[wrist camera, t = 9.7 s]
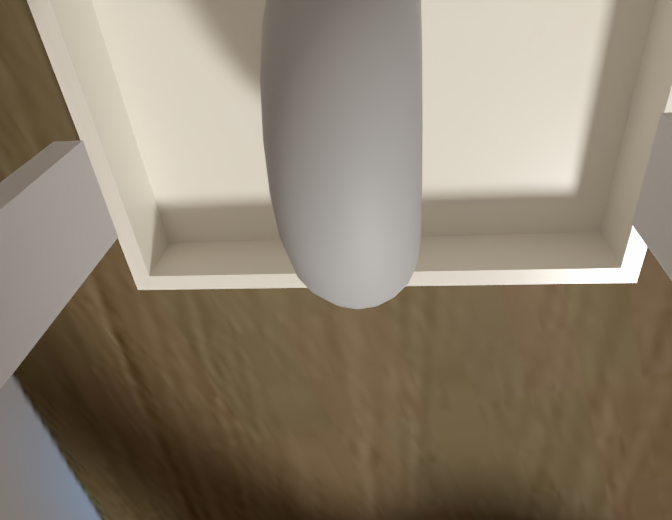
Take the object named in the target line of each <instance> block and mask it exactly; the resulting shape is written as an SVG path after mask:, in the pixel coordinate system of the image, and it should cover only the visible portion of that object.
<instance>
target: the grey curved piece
mask: <svg viewBox="0 0 672 520" xmlns="http://www.w3.org/2000/svg"><path fill="white" fill-rule="evenodd" d="M260 89H261V110H262V132H263V145H264V152H265V160H266V168H267V176H268V184H269V191H270V197H271V202H272V206H273V210H274V215H275V219H276V223H277V228H278V232H279V236H280V239H281V241H282V243H283V245H284V248H285V250H286V252H287V255H288V257H289V259H290V262H291V264H292V266H293V268H294V270H295V272H296V274H297V277H298V278H299V279H300V280H301V281H302V282H303V283H304V284H305V285H306V287H307V288H308V289H309V290H310V291H311V292H313V293H314V294H316V295H318V296H320V297H322V298H324V299H326V300H328V301H329V302H331V303H333V304H335V305H337V306H341V307H347V308H353V309H362V308H369V307H375V306H378V305H380V304H382V303H384V302H386V301H388V300H390V299H392V298H394V297H395V296H396V295H397V294H398V293H399V292H400V291H401V290H402V289H403V288H404V287H405V286H406V285H407V284H408V282H409V280H410V279H411V277H412V275H413V273H414V271H415V269H416V267H417V262H418V255H419V248H420V241H421V218H422V135H423V122H422V17H421V0H266V3H265V9H264V15H263V21H262V39H261V66H260Z"/></svg>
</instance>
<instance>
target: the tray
mask: <svg viewBox="0 0 672 520" xmlns="http://www.w3.org/2000/svg"><path fill="white" fill-rule="evenodd" d="M27 2H28V5H29V8H30V10H31V13H32V15H33V18H34V21H35V23H36V26H37V28H38V31H39V34H40V36H41V39H42V41H43V44H44V47H45V49H46V52H47V54H48V57H49V60H50V62H51V65H52V67H53V70H54V73H55V75H56V78H57V80H58V83H59V86H60V88H61V91H62V94H63V96H64V99H65V101H66V104H67V107H68V109H69V112H70V114H71V117H72V120H73V122H74V125H75V127H76V130H77V133H78V135H79V138H80V140H81V141H82V140H83V142H84V145H85V148H86V150H87V153H88V156H89V159H90V161H91V164H92V167H93V169H94V172H95V175H96V178H97V180H98V183H99V186H100V188H101V191H102V194H103V197H104V199H105V202H106V205H107V207H108V210H109V213H110V216H111V218H112V221H113V224H114V227H115V229H116V232H117V235H118V239H119V242H120V245H121V247H122V250H123V252H124V255H125V258H126V260H127V263H128V265H129V268H130V271H131V273H132V276H133V279H134V281H135V284H136V286H137V289H138V290H174V289H243V288H307V287H306V285H305V284H304V283H303V282H302V281H301V280H300V279H299V278H298V277H297V274H296V272H295V270H294V268H293V266H292V264H291V262H290V259H289V257H288V255H287V252H286V250H285V248H284V245H283V243H282V241H281V239H280V236H279V232H278V228H277V223H276V219H275V215H274V210H273V206H272V202H271V197H270V191H269V184H268V176H267V168H266V160H265V152H264V145H263V132H262V110H261V89H260V66H261V39H262V21H263V15H264V9H265V3H266V0H27ZM421 17H422V122H423V135H422V218H421V241H420V248H419V255H418V262H417V267H416V269H415V271H414V273H413V275H412V277H411V279H410V280H409V282H408V284H407V285H406V286H449V285H518V284H587V283H637V280H638V276H639V273H640V270H641V267H642V263H643V260H644V257H645V254H646V250H647V247H648V246H647V245H646V244H645V242H644V241H643V239H642V238H641V236H640V235H639V234H638V232H637V231H636V229H635V228H634V226H633V225H632V221H633V217H634V214H635V210H636V206H637V202H638V199H639V195H640V191H641V187H642V184H643V180H644V176H645V172H646V169H647V165H648V161H649V157H650V153H651V150H652V146H653V142H654V138H655V135H656V131H657V127H658V123H659V120H660V116H661V113H668V112H672V0H421Z"/></svg>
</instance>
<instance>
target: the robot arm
mask: <svg viewBox="0 0 672 520" xmlns="http://www.w3.org/2000/svg"><path fill="white" fill-rule="evenodd" d="M632 225H633V226H634V228H635V229H636V231H637V232H638V234H639V235H640V236H641V238H642V239H643V241H644V242H645V244H646V245H647V246H648V248H649V249H650V251H651V252H652V254H653V255H654V256H655V258H656V259H657V261H658V262H659V264H660V265H661V266H662V268H663V269H664V271H665V272H666V274H667V275H668V277H669V278H670V279H671V281H672V112H668V113H661V116H660V120H659V123H658V127H657V131H656V135H655V138H654V142H653V146H652V150H651V153H650V157H649V161H648V165H647V169H646V172H645V176H644V180H643V184H642V187H641V191H640V195H639V199H638V202H637V206H636V210H635V214H634V217H633V221H632ZM117 238H118V235H117V232H116V229H115V227H114V224H113V221H112V218H111V216H110V213H109V210H108V207H107V205H106V202H105V199H104V197H103V194H102V191H101V188H100V186H99V183H98V180H97V178H96V175H95V172H94V169H93V167H92V164H91V161H90V159H89V156H88V153H87V150H86V148H85V145H84V142H83V140H82V141H61V142H52V143H51V144H50V145H49V146H47V147H46V148H45V149H43V150H42V151H41V152H39V153H38V154H37V155H36V156H34V157H33V158H32V159H30V160H29V161H28V162H26V163H25V164H24V165H23V166H21V167H20V168H19V169H17V170H16V171H15V172H13V173H12V174H11V175H10V176H8V177H7V178H6V179H4V180H3V181H2V182H0V390H1V388H2V387H3V386H4V385H5V383H6V382H7V381H8V380H9V378H10V377H11V376H12V374H13V373H14V372H15V370H16V369H17V368H18V367H19V365H20V364H21V363H22V361H23V360H24V359H25V357H26V356H27V355H28V354H29V352H30V351H31V350H32V348H33V347H34V346H35V344H36V343H37V342H38V341H39V339H40V338H41V337H42V335H43V334H44V333H45V331H46V330H47V329H48V328H49V326H50V325H51V324H52V322H53V321H54V320H55V319H56V317H57V316H58V315H59V313H60V312H61V311H62V309H63V308H64V307H65V306H66V304H67V303H68V302H69V300H70V299H71V298H72V296H73V295H74V294H75V293H76V291H77V290H78V289H79V287H80V286H81V285H82V283H83V282H84V281H85V280H86V278H87V277H88V276H89V274H90V273H91V272H92V270H93V269H94V268H95V267H96V265H97V264H98V263H99V261H100V260H101V259H102V257H103V256H104V255H105V254H106V252H107V251H108V250H109V248H110V247H111V246H112V245H113V243H114V242H115V241H116V239H117Z"/></svg>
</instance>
